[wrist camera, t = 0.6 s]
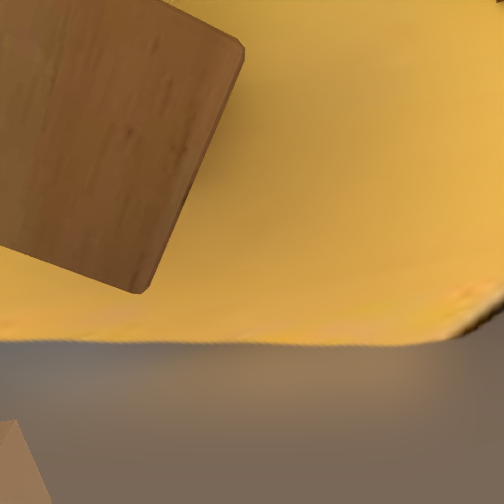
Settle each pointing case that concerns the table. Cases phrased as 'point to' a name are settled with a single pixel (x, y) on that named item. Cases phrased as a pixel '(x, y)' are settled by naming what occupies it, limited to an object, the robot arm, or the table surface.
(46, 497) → the robot arm
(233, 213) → the table surface
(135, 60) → the wooden block
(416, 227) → the table surface
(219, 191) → the table surface
